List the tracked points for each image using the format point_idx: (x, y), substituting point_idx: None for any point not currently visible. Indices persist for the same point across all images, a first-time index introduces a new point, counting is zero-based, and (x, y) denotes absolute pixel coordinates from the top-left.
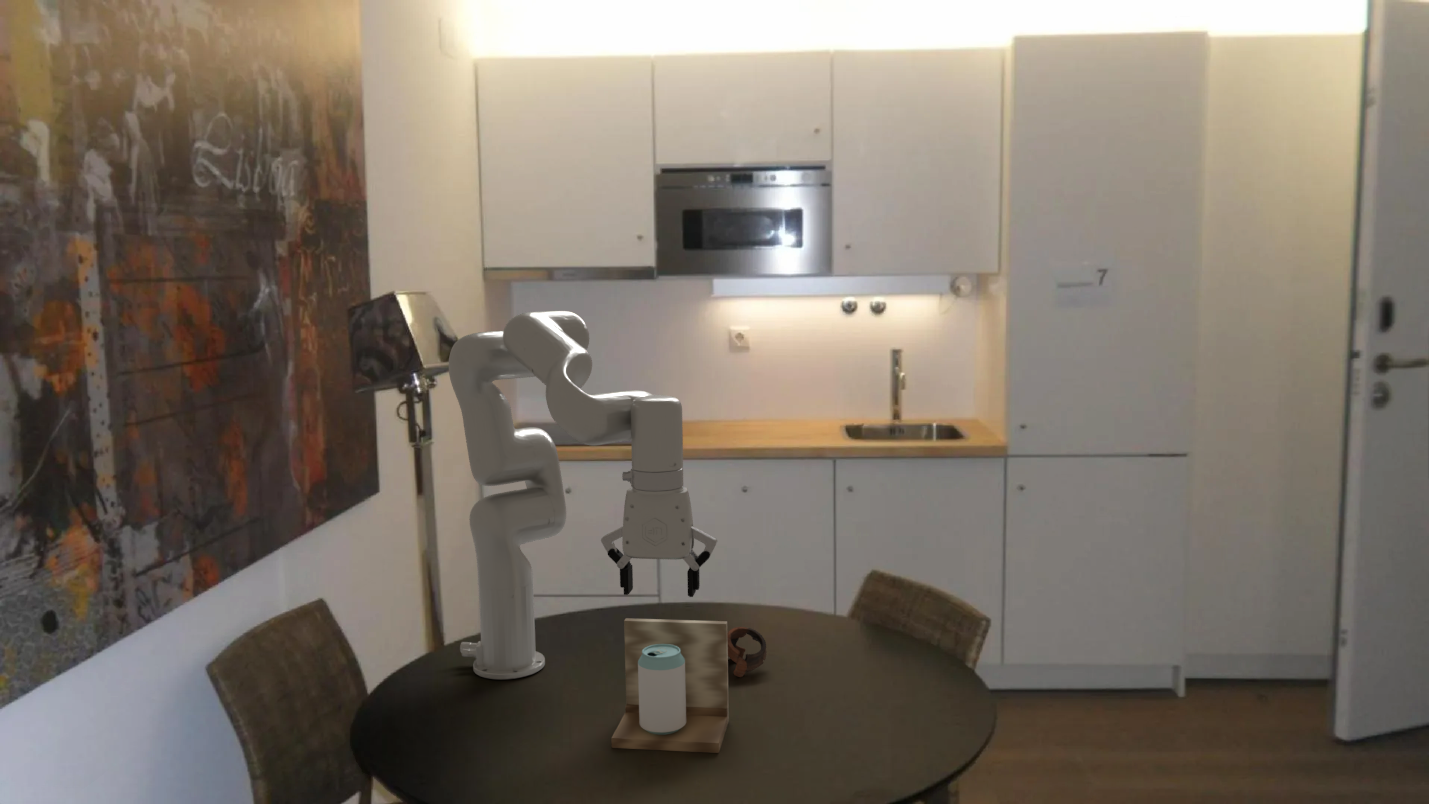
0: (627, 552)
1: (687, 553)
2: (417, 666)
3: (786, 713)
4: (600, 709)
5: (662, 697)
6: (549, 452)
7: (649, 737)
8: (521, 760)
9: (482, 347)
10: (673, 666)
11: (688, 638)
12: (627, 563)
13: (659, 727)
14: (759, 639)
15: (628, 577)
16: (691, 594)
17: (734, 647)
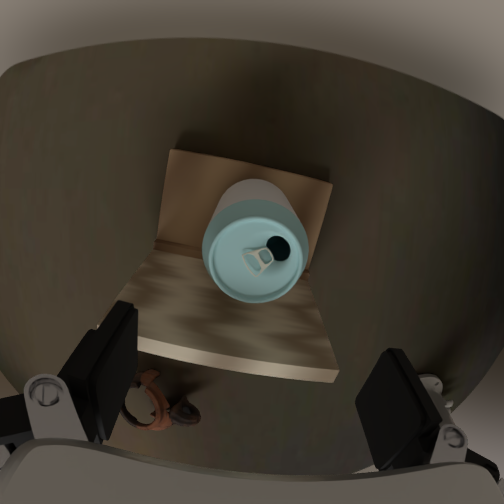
0: (483, 475)
1: (18, 451)
2: (471, 390)
3: (89, 264)
4: (335, 303)
5: (255, 188)
6: None
7: (275, 177)
8: (435, 167)
9: None
10: (228, 208)
11: (191, 324)
12: (421, 454)
13: (260, 180)
14: (124, 410)
15: (406, 399)
16: (119, 302)
17: (150, 398)
